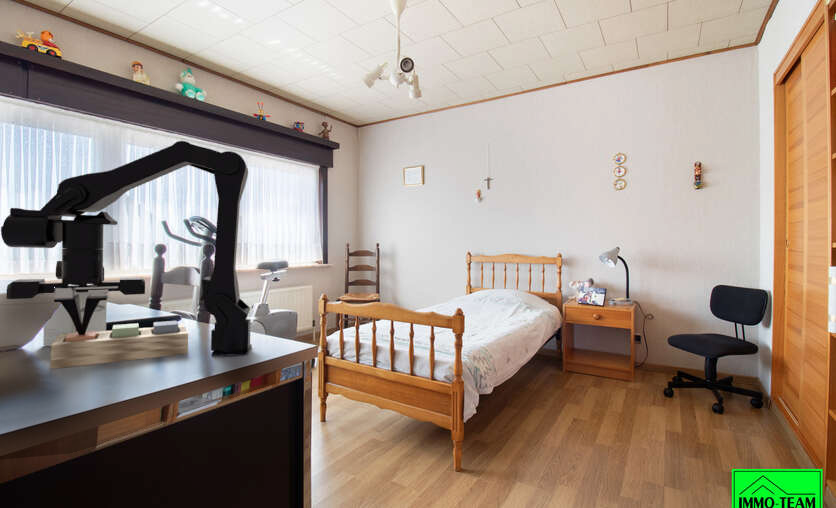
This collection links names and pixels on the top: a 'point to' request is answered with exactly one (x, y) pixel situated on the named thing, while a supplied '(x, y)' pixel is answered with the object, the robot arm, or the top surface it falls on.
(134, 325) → the key sage
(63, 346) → the wooden slotted block
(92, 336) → the key terracotta
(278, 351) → the top surface
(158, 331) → the key slate
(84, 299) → the supplement box
